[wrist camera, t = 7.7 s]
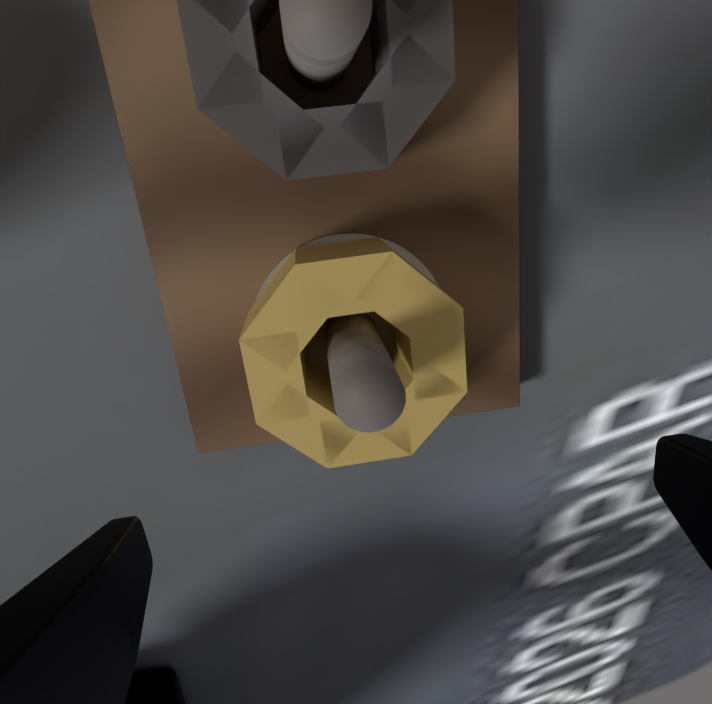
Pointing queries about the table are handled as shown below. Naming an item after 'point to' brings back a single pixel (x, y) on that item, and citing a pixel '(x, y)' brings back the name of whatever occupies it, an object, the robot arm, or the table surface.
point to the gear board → (321, 179)
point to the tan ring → (338, 298)
